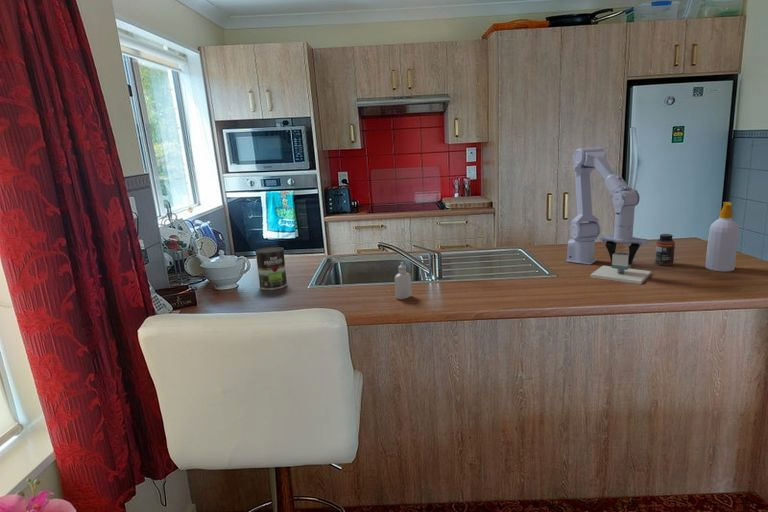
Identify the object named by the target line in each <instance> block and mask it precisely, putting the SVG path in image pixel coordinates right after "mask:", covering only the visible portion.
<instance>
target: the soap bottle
mask: <svg viewBox="0 0 768 512" xmlns="http://www.w3.org/2000/svg"><path fill="white" fill-rule="evenodd" d="M732 207H733V204H732V202H731V201H723V206H722V208H721V210H720V212H719V217H718V219H716V220H715V221H714V222H712V223H711V224H710V225H709V226H710V227H709V231H708V239H707V248H706V256H705V265H704V266H705V268H706V269H707V270H710V271H714V272H723V273H724V272H725V273H727V272H733V271H735V268H736V260H737V253H738V243H739V237H740V236H739V235H740V226H739V225H738V223H737V222H736V221H735V220H733V210H732Z"/></svg>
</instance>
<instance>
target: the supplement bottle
mask: <svg viewBox="0 0 768 512" xmlns="http://www.w3.org/2000/svg"><path fill="white" fill-rule="evenodd" d="M673 237H674V236H673V234H669V233H661V234H660V235H659V239H658V240H657V241H656V246H655V247H656V248H655V257H654V259H655V261H654V262H655V265H657V266H663V267H666V266H667V267H668V266H673V264H674V261H675V259H674V258H675V250H676V249H675V247H676V242H675V240H673Z"/></svg>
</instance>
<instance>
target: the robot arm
mask: <svg viewBox="0 0 768 512" xmlns="http://www.w3.org/2000/svg"><path fill="white" fill-rule="evenodd" d="M572 164H573V165H572V166H573V169H572V170H573V171H574V179H575V196H576V211H577V215H576V216H575V217H574V218H573V219H572V220H571V221H570V224H571V225H570V228H569V229H570V231H569V233H570V237H572V238H569V239H568V242H567V251H566V252H567V254H566V256H567V257H566V262H567V263H577V264H583V265H592V264H594V263H595V262H596V261H598V258H594V257H595V242H596V241H595V240H597V239H598V237H600V238H599V242H601V243H604V244H605V248H606V249H607V253H608V256H609V259H610V263H611V264H612V255H613V254H614V253H615V252H616V248H617V244H627V245H629V246H628V251H629V252H628V253H629V261H628V265H631V266H632V265H633V261H634V258H635V256H636V253H637V251H638V250H639V248H640V247H641V246H642V247H643V246H648V245H647V244H648V238H639V237H633V235H634V224H635V223H634V222H635V209H636V206H638V205H639V202H640V199H641V197H640V193H639V191H638V190H637V189H635V188H632V187H630V186H629V185H628V183H626V181H625V180H624V179H623V177H622V175H621V174H619V173H615V172H614V170H613V168H612V167H611V165H610V163H609V162H608V160H607V152H606V151H605V149H604V147H602V146H598V147H586V148H584V147H583V148H582V147H579V148H577V149H576V150H575V151H574V152H573V155H572ZM593 170H597V171H598V173H599V174H600V175H601V176H602V178H604V180H605V181H604V186H605V187H606V189H607V190H608V192H609V193H610V194H611V196H612V200H611V201H612V204H613V205H612V206H613V211H614V213H615V217H614V233H613V235H601V236H600V234H601V226H600V223H599V219H598V217H596V216H595V215H594V214H593V205H592V204H593V203H592V188H591V185H592V184H591V173H592V171H593Z"/></svg>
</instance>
